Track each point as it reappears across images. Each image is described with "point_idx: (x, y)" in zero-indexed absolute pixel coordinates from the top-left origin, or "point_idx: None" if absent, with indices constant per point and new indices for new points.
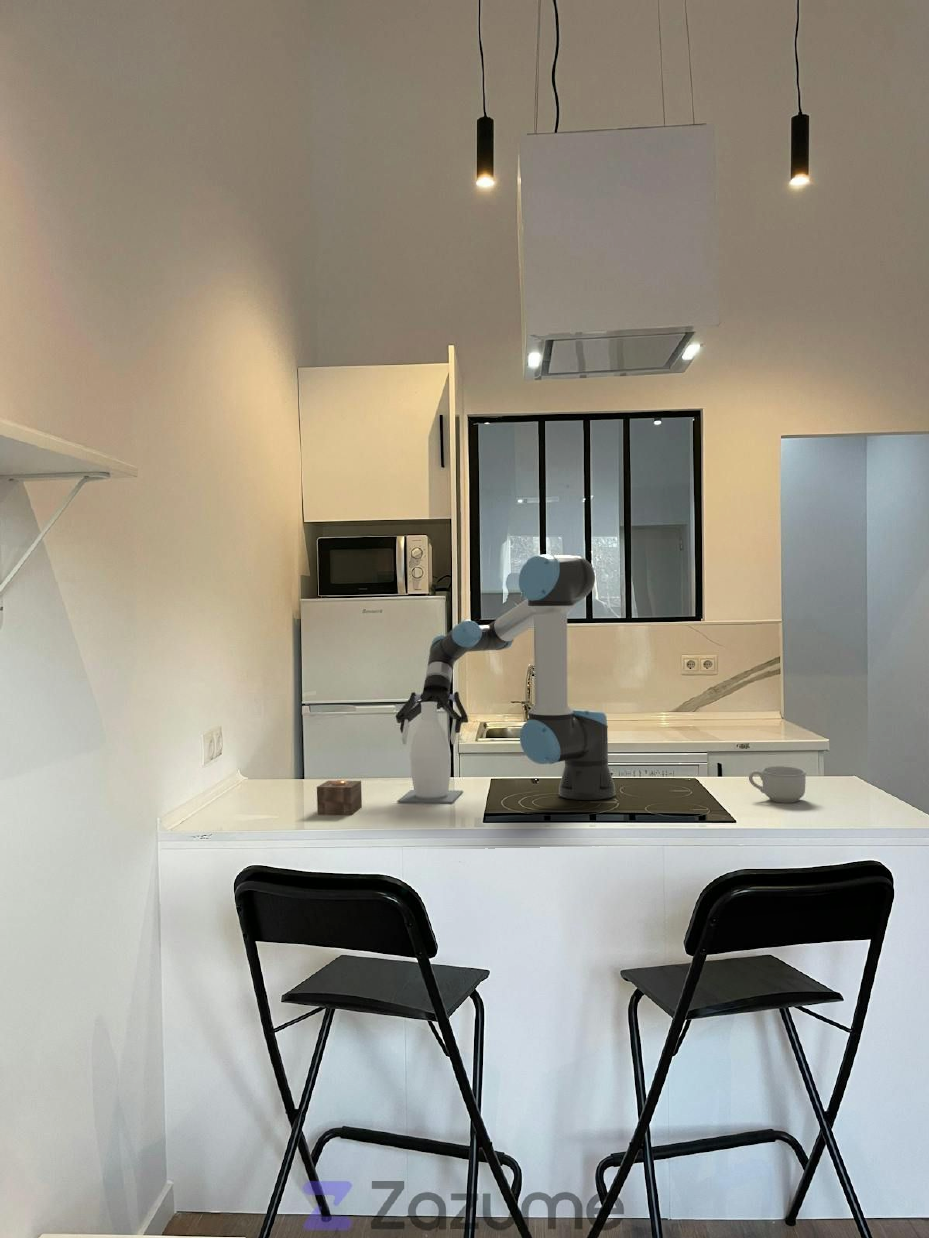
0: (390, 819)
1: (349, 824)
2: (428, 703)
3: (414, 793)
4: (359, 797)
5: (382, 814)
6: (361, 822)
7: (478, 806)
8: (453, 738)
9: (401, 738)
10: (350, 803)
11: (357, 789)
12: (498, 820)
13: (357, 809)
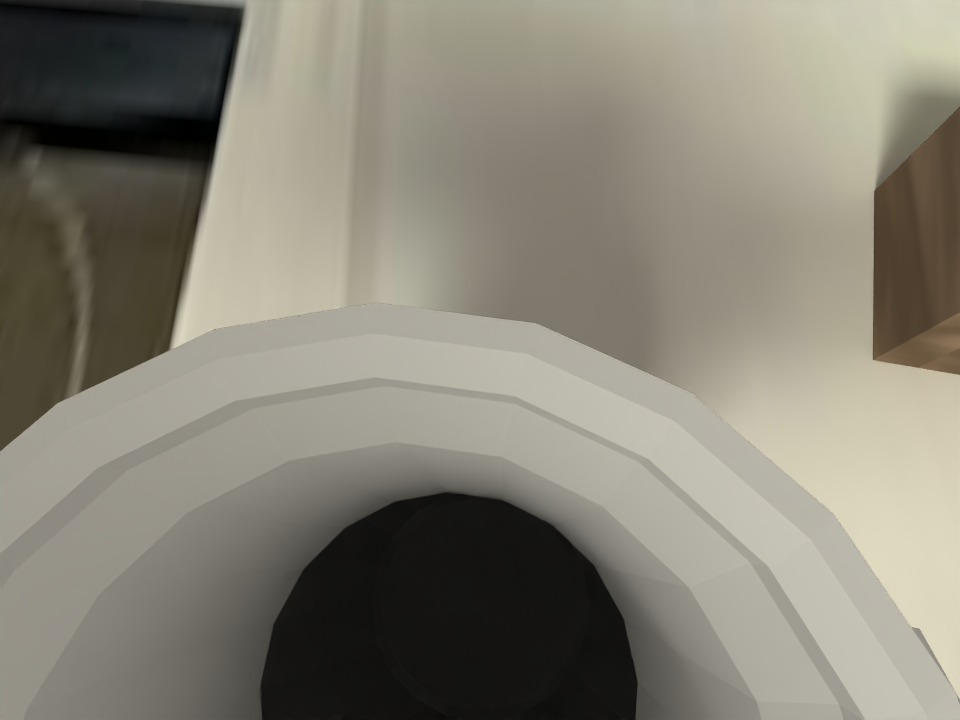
0: (655, 90)
1: (824, 24)
2: (397, 306)
3: None
4: (912, 297)
5: (715, 187)
6: (779, 51)
7: (218, 310)
8: None
9: (917, 632)
10: (914, 156)
11: (950, 239)
12: (174, 32)
13: (876, 280)
